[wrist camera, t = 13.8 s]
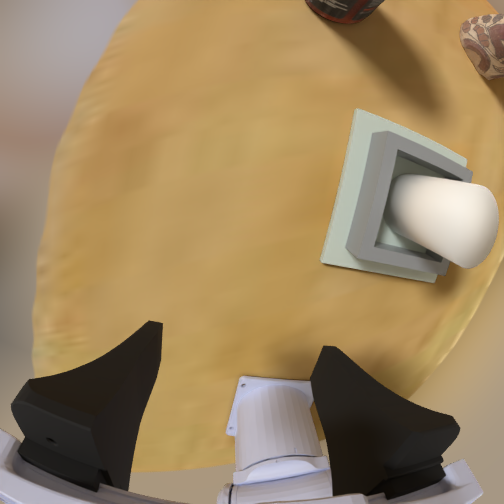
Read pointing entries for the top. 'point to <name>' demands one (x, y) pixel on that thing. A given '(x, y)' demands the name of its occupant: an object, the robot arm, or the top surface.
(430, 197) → the cream white egg
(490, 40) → the figurine
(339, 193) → the cup holder
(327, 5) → the supplement bottle
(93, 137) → the top surface
